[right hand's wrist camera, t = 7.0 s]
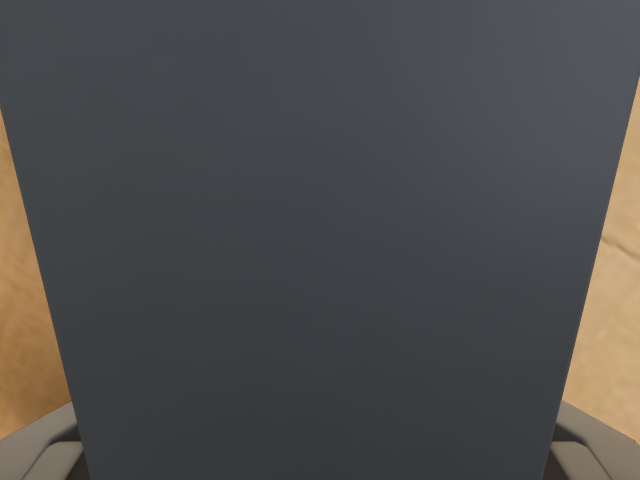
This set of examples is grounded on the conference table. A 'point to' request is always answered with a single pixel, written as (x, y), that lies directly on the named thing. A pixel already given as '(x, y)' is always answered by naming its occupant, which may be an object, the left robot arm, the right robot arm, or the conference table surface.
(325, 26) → the bar
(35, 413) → the conference table surface
